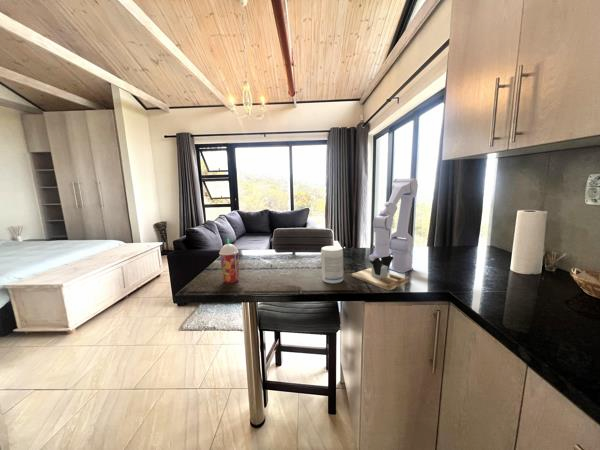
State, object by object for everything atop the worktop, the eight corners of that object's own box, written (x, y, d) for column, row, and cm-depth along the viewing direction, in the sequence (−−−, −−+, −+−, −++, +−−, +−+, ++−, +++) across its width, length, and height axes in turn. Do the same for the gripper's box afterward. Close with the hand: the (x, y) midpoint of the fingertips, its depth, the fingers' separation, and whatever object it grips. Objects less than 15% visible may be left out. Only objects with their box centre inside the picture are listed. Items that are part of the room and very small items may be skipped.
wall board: (371, 269, 119) (371, 265, 119) (409, 282, 103) (409, 277, 102) (351, 276, 112) (351, 271, 111) (388, 290, 95) (388, 285, 95)
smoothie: (244, 278, 111) (241, 236, 108) (232, 285, 104) (229, 240, 101) (230, 276, 115) (227, 235, 112) (217, 283, 108) (213, 239, 104)
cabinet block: (378, 273, 110) (378, 261, 109) (387, 277, 106) (387, 264, 105) (371, 276, 108) (371, 263, 107) (380, 279, 104) (381, 266, 103)
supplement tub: (347, 280, 106) (348, 248, 104) (331, 286, 101) (331, 252, 99) (333, 274, 114) (333, 244, 112) (317, 279, 109) (316, 247, 107)
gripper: (384, 239, 111) (384, 267, 113) (363, 244, 103) (362, 274, 105) (398, 241, 105) (397, 271, 107) (376, 247, 97) (376, 279, 99)
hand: (381, 273), depth 106 cm, fingers closed on cabinet block, 4 cm apart
